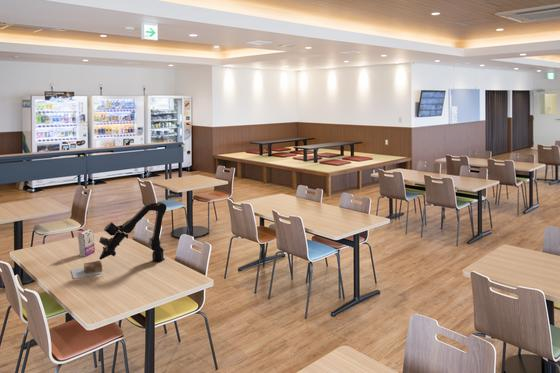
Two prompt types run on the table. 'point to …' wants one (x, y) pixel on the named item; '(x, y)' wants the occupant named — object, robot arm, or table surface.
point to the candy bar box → (86, 243)
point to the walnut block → (92, 267)
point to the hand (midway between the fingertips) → (99, 259)
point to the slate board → (82, 273)
